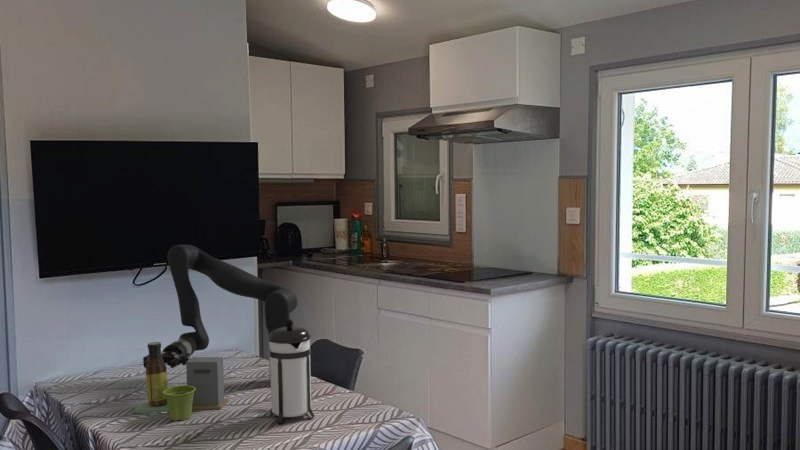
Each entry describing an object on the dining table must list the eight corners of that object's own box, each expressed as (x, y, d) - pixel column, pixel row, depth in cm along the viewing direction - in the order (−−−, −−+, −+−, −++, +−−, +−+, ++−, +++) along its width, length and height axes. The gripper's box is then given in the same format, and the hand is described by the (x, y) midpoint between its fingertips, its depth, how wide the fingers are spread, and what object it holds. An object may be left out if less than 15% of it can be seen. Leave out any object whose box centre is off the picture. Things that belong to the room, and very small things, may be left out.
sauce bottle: (172, 401, 218) (170, 341, 217) (159, 408, 212) (157, 345, 211) (155, 400, 220) (153, 340, 219) (142, 406, 215) (140, 344, 213)
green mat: (181, 401, 222) (181, 398, 222) (168, 413, 211) (168, 409, 211) (148, 401, 222) (148, 398, 222) (133, 413, 211) (133, 409, 211)
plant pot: (178, 425, 200) (177, 396, 199) (157, 419, 205) (156, 391, 204) (203, 415, 208) (202, 388, 207) (182, 410, 213) (181, 383, 212)
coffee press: (327, 410, 211) (325, 315, 209) (298, 427, 196) (296, 325, 195) (280, 403, 218) (278, 312, 216) (250, 419, 204) (247, 321, 202)
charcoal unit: (228, 401, 221) (227, 356, 220) (220, 409, 213) (219, 362, 212) (192, 401, 222) (190, 356, 221) (183, 409, 214) (181, 362, 213)
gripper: (156, 341, 233) (136, 353, 217) (197, 341, 232) (179, 353, 216) (157, 363, 233) (137, 376, 217) (198, 363, 233) (180, 376, 216)
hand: (158, 365), depth 217 cm, fingers open, 8 cm apart
